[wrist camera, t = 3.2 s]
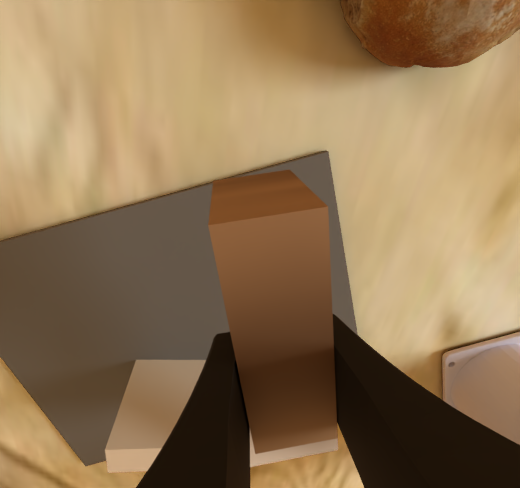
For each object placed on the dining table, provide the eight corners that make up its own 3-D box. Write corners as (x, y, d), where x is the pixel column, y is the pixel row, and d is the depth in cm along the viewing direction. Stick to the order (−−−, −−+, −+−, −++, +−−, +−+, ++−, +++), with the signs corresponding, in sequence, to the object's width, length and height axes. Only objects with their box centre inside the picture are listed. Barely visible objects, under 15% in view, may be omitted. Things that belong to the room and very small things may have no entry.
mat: (364, 385, 25) (366, 390, 24) (87, 460, 25) (85, 466, 24) (326, 150, 17) (328, 151, 17) (-67, 259, 17) (-73, 262, 17)
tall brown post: (180, 185, 10) (156, 233, 6) (320, 164, 10) (376, 199, 6) (243, 455, 15) (249, 566, 12) (333, 437, 15) (368, 541, 12)
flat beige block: (136, 359, 21) (105, 450, 15) (228, 360, 22) (230, 446, 16) (137, 380, 22) (108, 474, 16) (226, 380, 22) (227, 469, 17)
